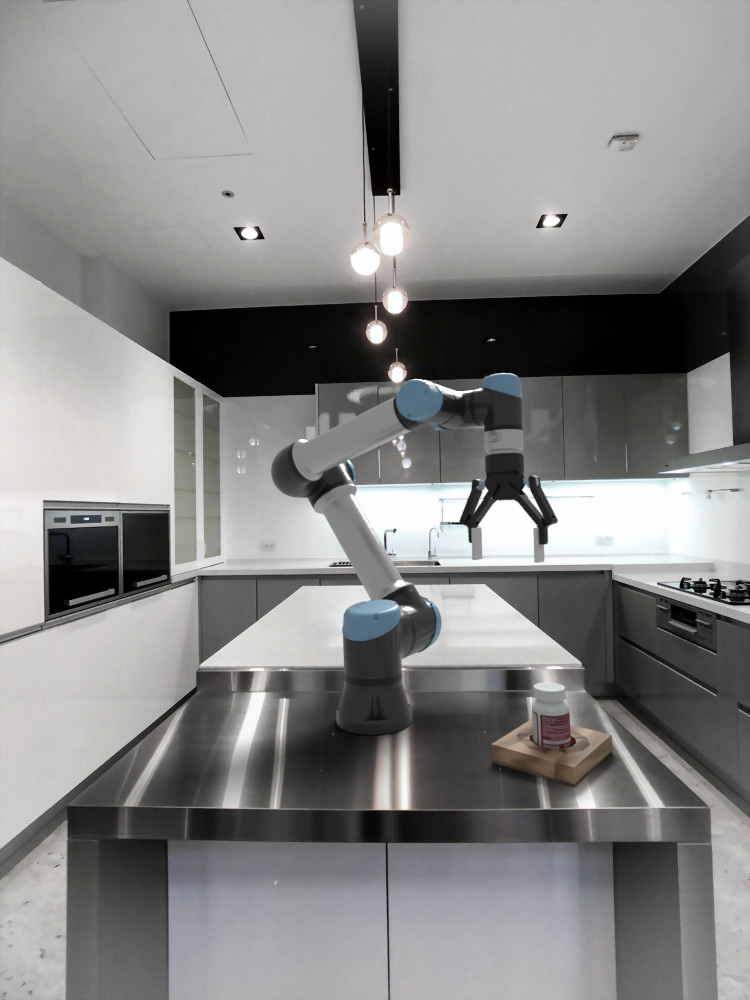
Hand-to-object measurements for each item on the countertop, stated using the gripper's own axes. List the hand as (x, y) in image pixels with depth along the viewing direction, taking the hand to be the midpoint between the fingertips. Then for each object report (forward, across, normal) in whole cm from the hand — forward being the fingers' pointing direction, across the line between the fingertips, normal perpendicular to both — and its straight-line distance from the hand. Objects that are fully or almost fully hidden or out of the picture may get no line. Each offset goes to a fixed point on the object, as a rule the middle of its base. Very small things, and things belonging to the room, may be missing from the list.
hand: (507, 560), depth 114 cm
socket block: (+32, +13, -10) cm, 36 cm away
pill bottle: (+31, +13, -10) cm, 35 cm away
